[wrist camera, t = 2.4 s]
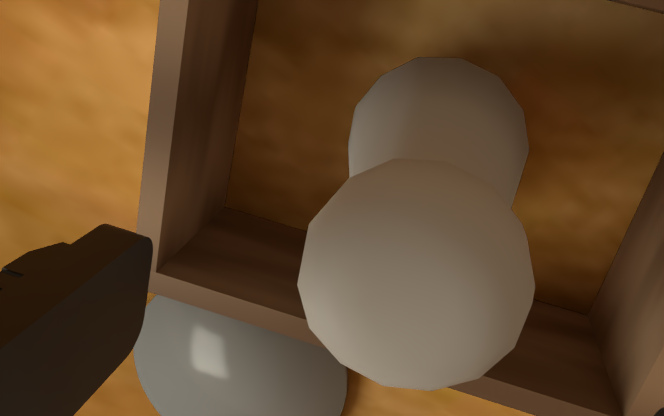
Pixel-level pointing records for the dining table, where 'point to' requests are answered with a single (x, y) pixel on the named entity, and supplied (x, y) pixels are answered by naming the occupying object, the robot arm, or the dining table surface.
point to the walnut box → (288, 243)
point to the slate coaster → (232, 367)
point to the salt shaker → (424, 231)
